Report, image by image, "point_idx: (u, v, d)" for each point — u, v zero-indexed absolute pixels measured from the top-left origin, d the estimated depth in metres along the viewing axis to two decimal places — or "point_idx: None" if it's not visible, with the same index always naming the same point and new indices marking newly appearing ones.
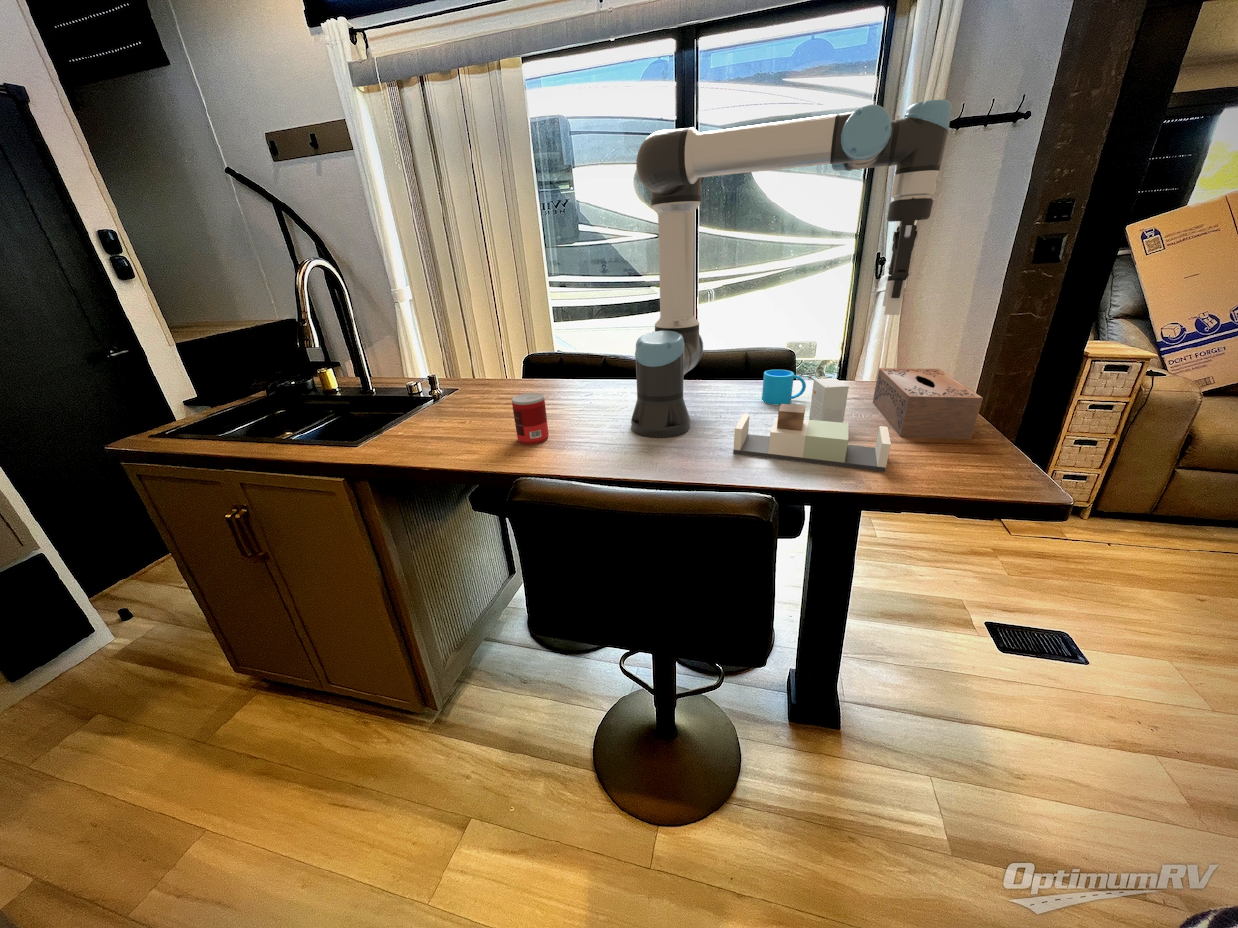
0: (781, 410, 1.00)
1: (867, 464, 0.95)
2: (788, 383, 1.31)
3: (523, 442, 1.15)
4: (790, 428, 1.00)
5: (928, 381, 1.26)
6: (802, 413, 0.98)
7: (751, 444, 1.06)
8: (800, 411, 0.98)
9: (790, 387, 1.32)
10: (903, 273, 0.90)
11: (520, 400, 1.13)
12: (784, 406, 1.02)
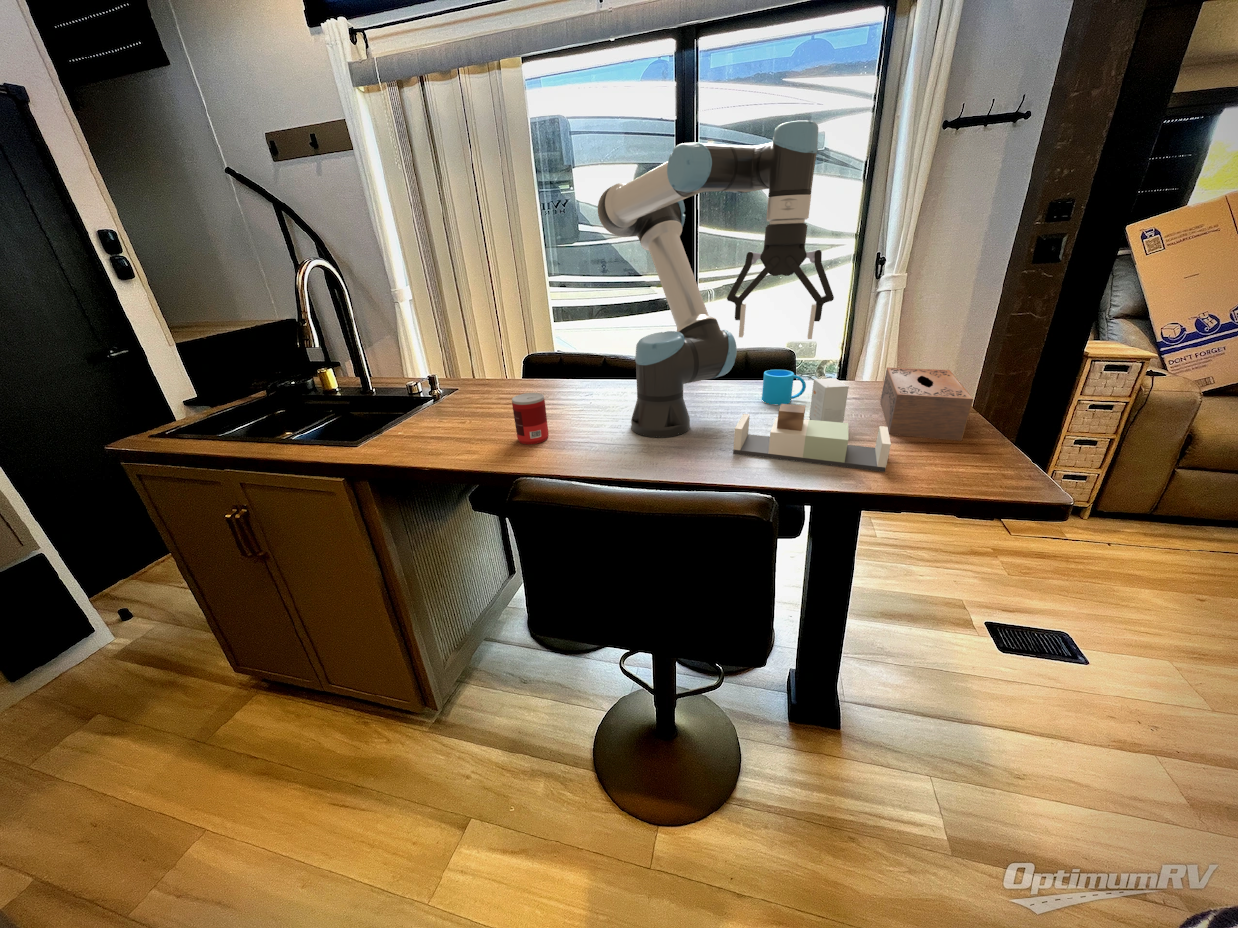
0: (781, 410, 1.00)
1: (867, 464, 0.95)
2: (788, 383, 1.31)
3: (523, 442, 1.15)
4: (790, 428, 1.00)
5: None
6: (802, 413, 0.98)
7: (751, 444, 1.06)
8: (800, 411, 0.98)
9: (790, 387, 1.32)
10: (727, 296, 0.97)
11: (520, 400, 1.13)
12: (784, 406, 1.02)
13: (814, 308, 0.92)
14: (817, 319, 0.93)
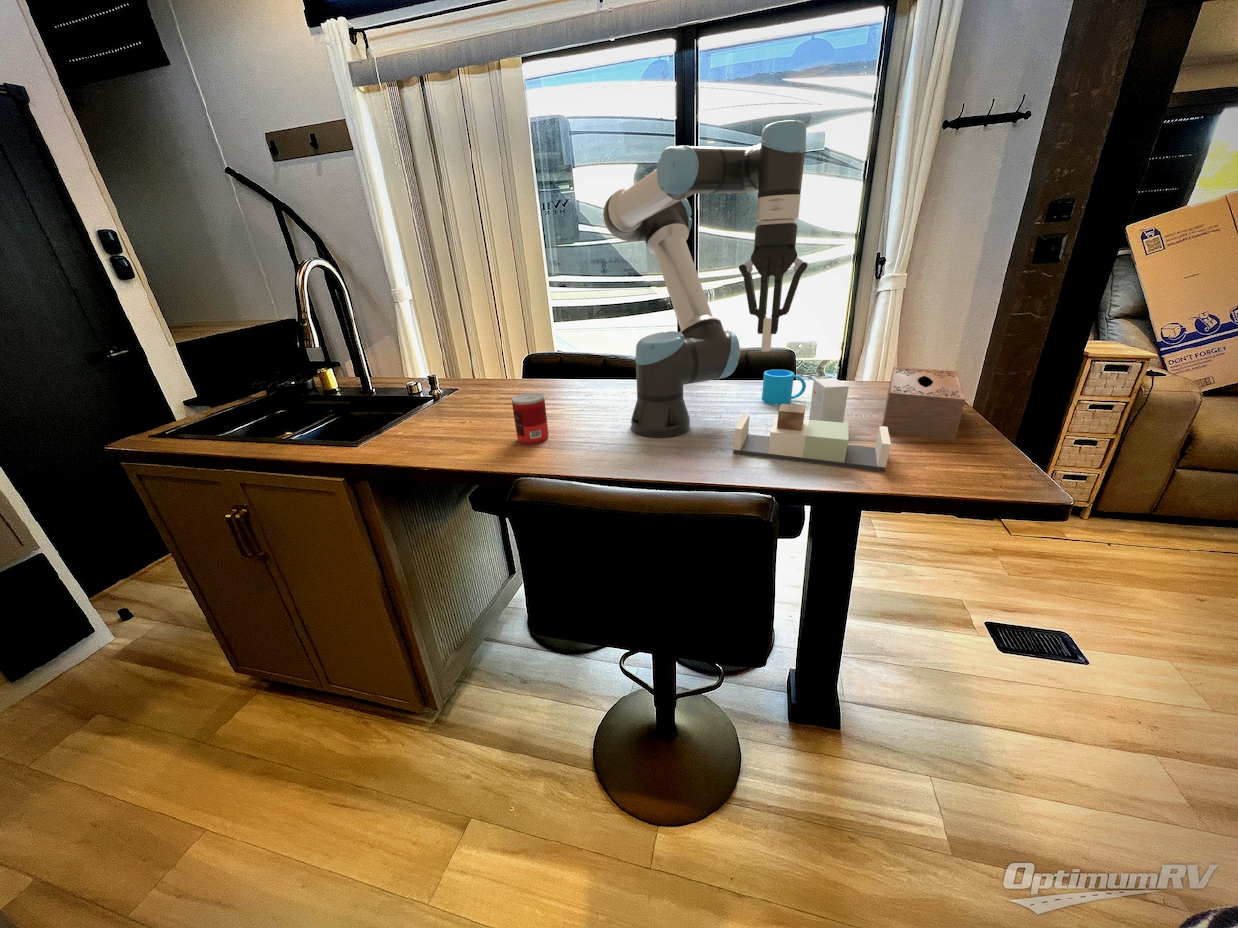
0: (781, 410, 1.00)
1: (867, 464, 0.95)
2: (788, 383, 1.31)
3: (523, 442, 1.15)
4: (790, 428, 1.00)
5: None
6: (802, 413, 0.98)
7: (751, 444, 1.06)
8: (800, 411, 0.98)
9: (790, 387, 1.32)
10: None
11: (520, 400, 1.13)
12: (784, 406, 1.02)
13: (769, 321, 0.94)
14: (773, 332, 0.95)
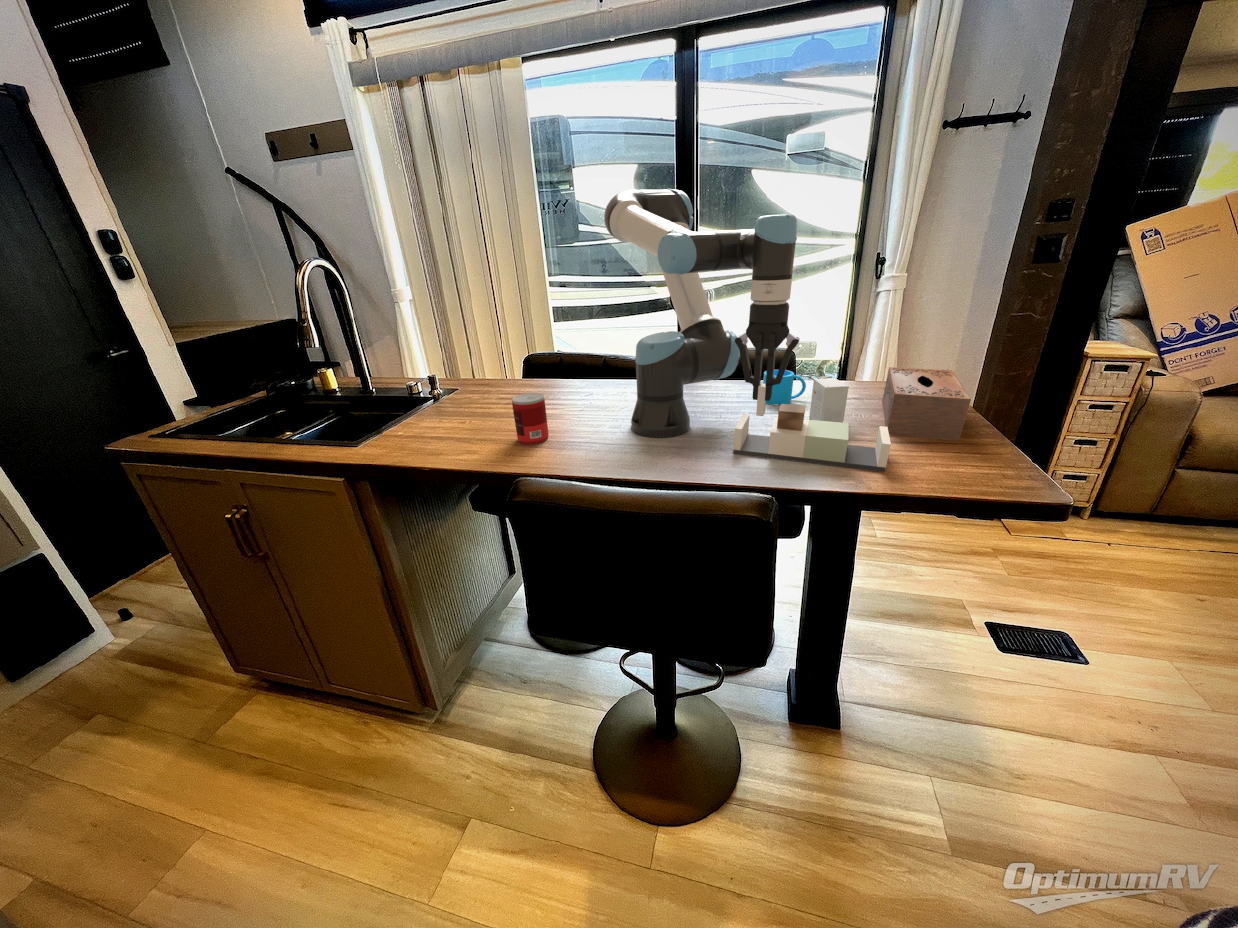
0: (781, 410, 1.00)
1: (867, 464, 0.95)
2: (788, 383, 1.31)
3: (523, 442, 1.15)
4: (790, 428, 1.00)
5: None
6: (802, 413, 0.98)
7: (751, 444, 1.06)
8: (800, 411, 0.98)
9: (790, 387, 1.32)
10: None
11: (520, 400, 1.13)
12: (784, 406, 1.02)
13: (764, 389, 1.00)
14: (767, 399, 1.01)
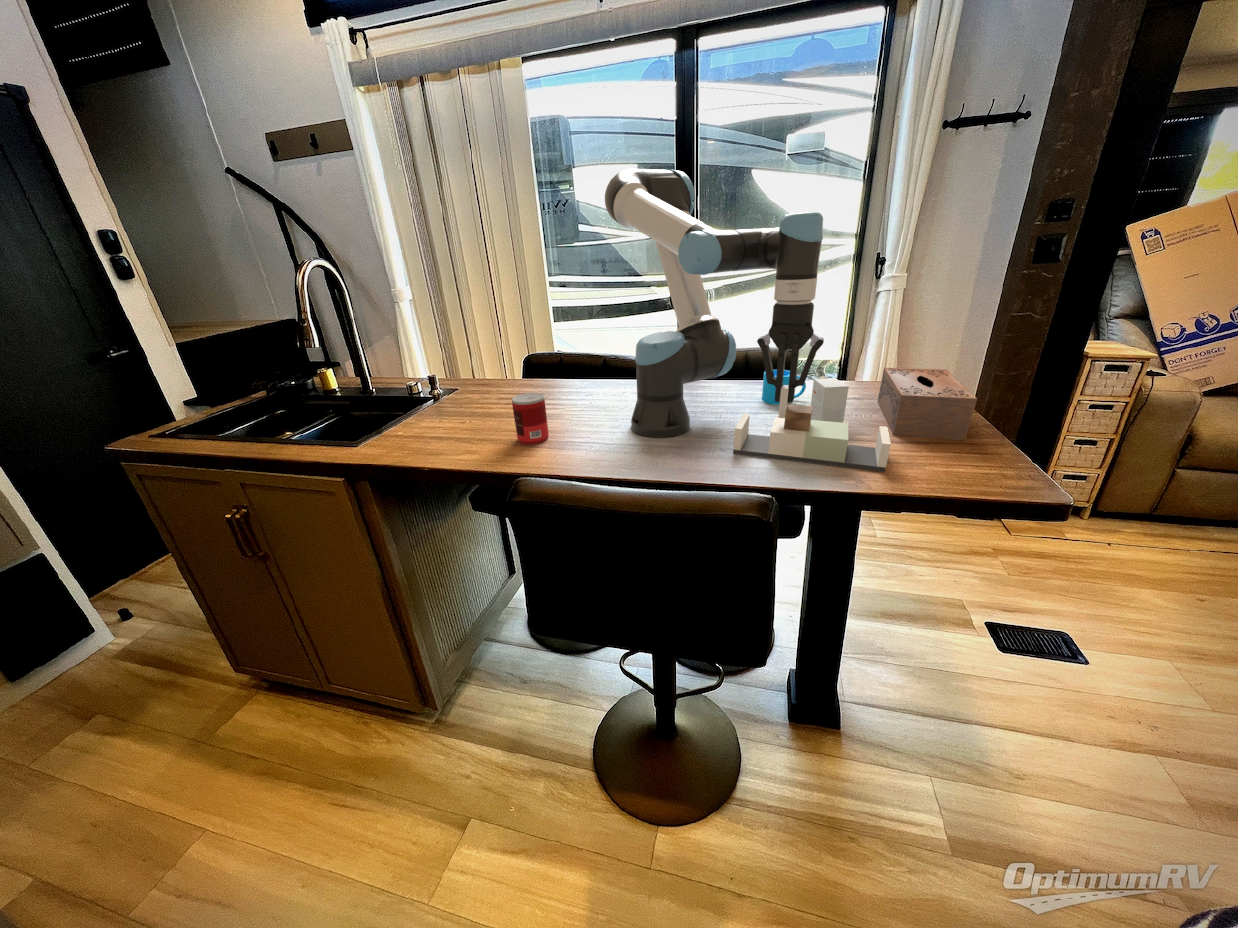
0: (788, 411, 0.99)
1: (867, 464, 0.95)
2: (788, 383, 1.31)
3: (523, 442, 1.15)
4: (797, 429, 0.99)
5: None
6: (809, 414, 0.97)
7: (751, 444, 1.06)
8: (807, 412, 0.98)
9: None
10: None
11: (520, 400, 1.13)
12: (791, 407, 1.01)
13: (786, 391, 0.98)
14: (790, 400, 0.99)
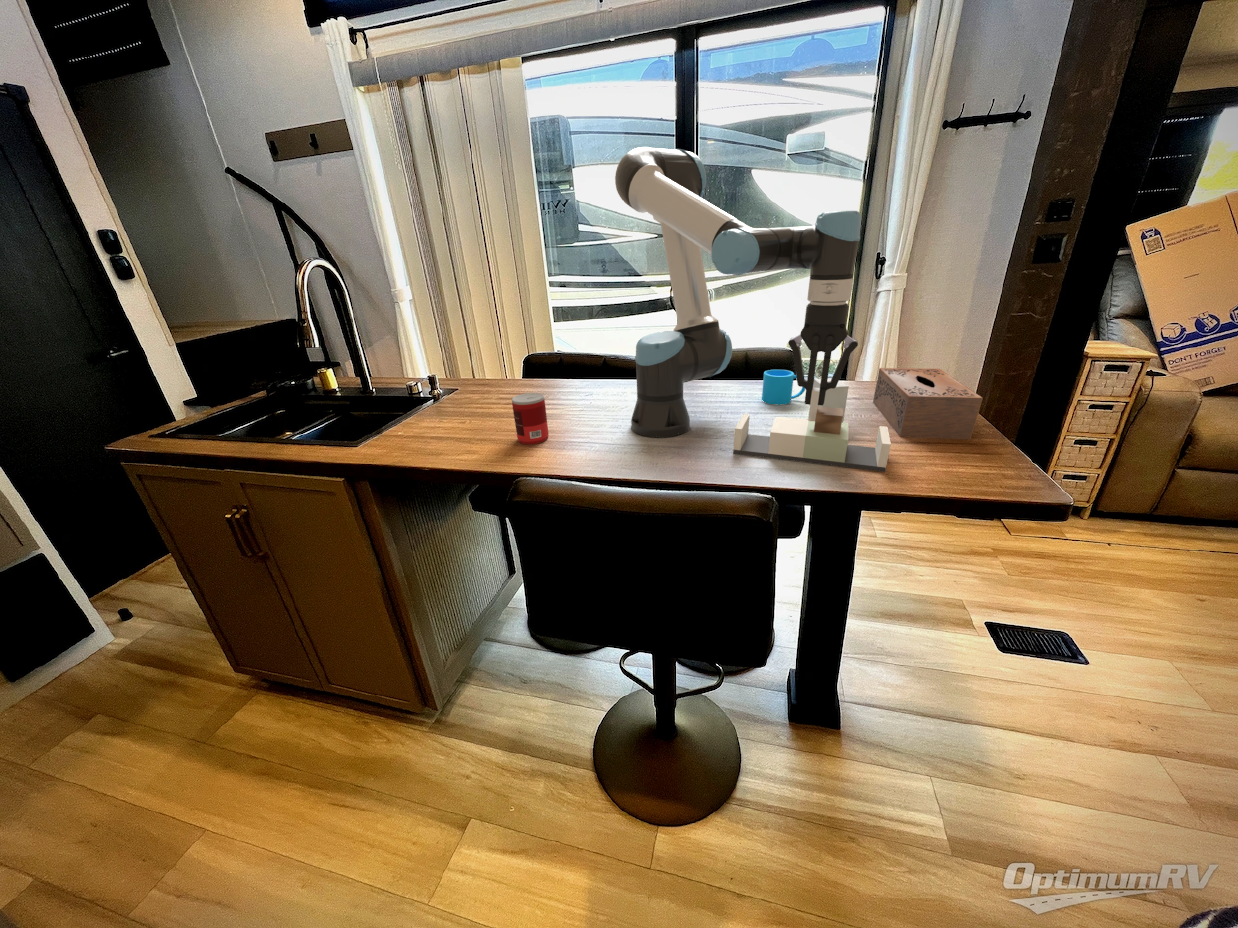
0: (819, 413, 0.97)
1: (867, 464, 0.95)
2: (788, 383, 1.31)
3: (523, 442, 1.15)
4: (828, 432, 0.97)
5: (928, 381, 1.26)
6: (841, 416, 0.95)
7: (751, 444, 1.06)
8: (839, 414, 0.96)
9: (790, 387, 1.32)
10: None
11: (520, 400, 1.13)
12: (820, 409, 0.99)
13: (817, 394, 0.96)
14: (820, 403, 0.97)
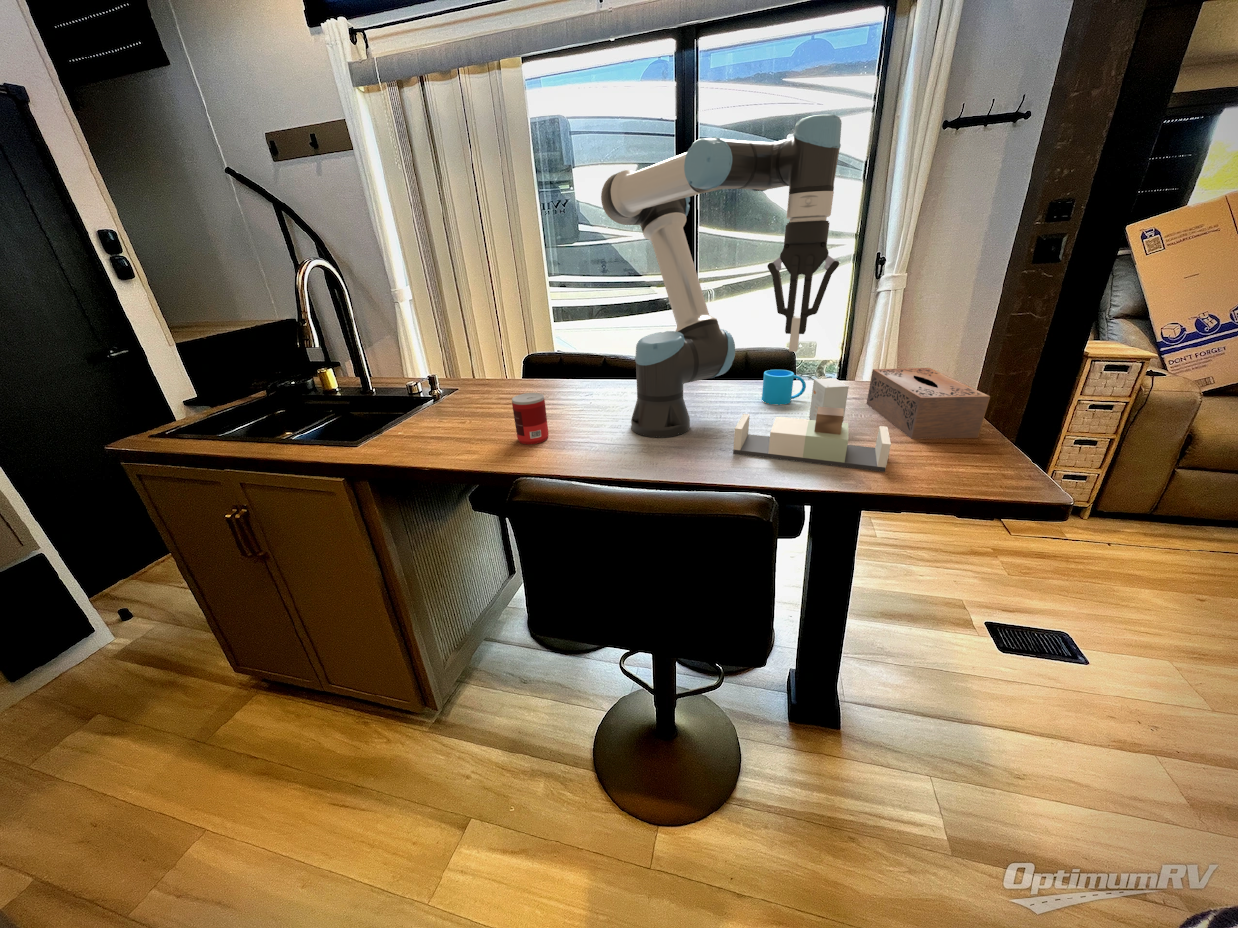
0: (819, 413, 0.97)
1: (867, 464, 0.95)
2: (788, 383, 1.31)
3: (523, 442, 1.15)
4: (828, 432, 0.97)
5: (919, 380, 1.27)
6: (842, 416, 0.95)
7: (751, 444, 1.06)
8: (839, 414, 0.96)
9: (790, 387, 1.32)
10: None
11: (520, 400, 1.13)
12: (821, 409, 0.99)
13: (798, 321, 0.92)
14: (802, 332, 0.93)
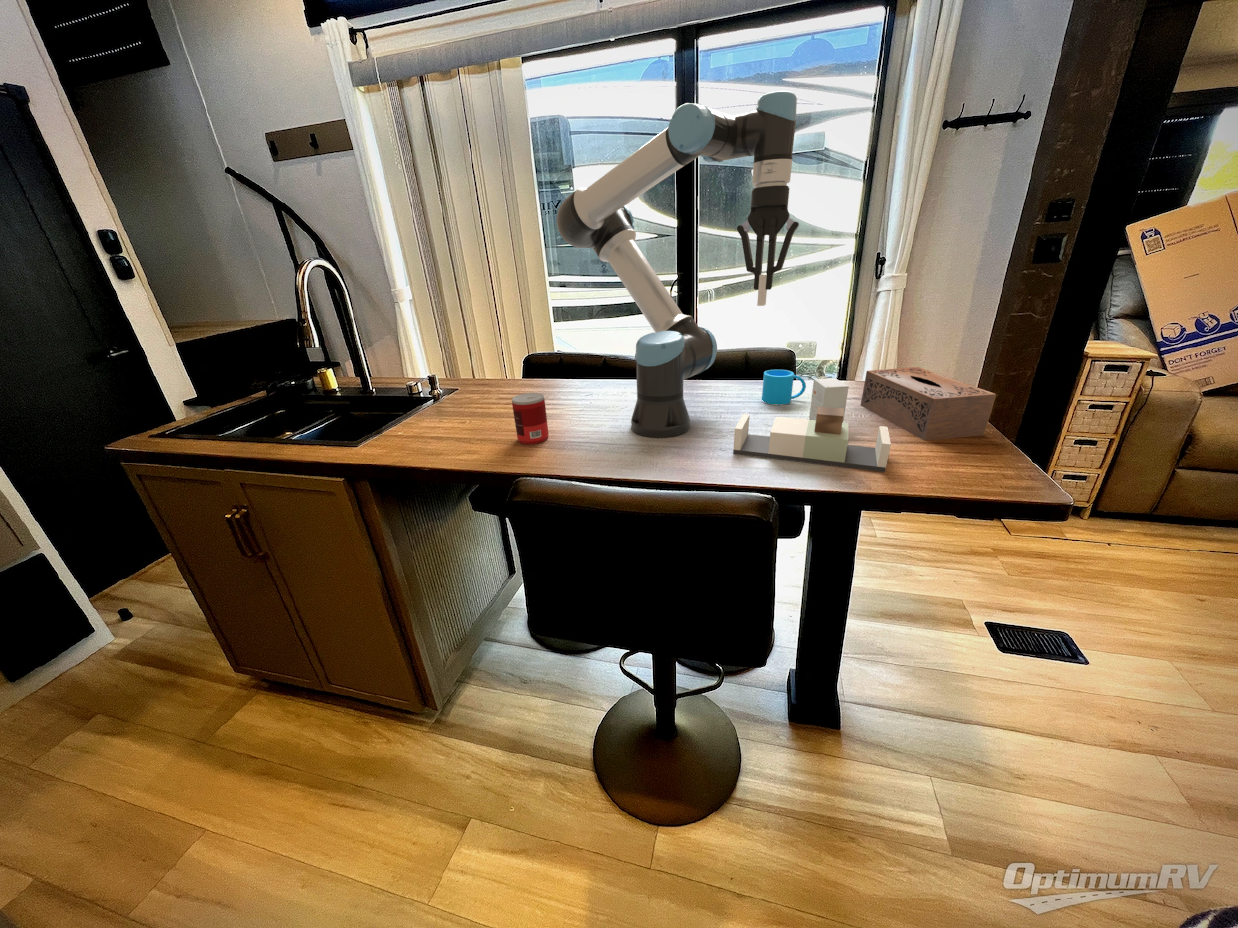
0: (819, 413, 0.97)
1: (867, 464, 0.95)
2: (788, 383, 1.31)
3: (523, 442, 1.15)
4: (828, 432, 0.97)
5: None
6: (842, 416, 0.95)
7: (751, 444, 1.06)
8: (839, 414, 0.96)
9: (790, 387, 1.32)
10: None
11: (520, 400, 1.13)
12: (821, 409, 0.99)
13: (764, 277, 1.04)
14: (768, 287, 1.05)
